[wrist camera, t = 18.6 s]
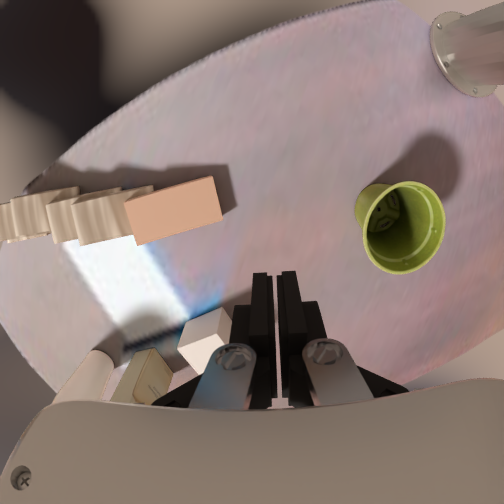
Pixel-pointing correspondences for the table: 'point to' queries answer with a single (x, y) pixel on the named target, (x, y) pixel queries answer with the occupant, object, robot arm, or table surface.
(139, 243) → the domino
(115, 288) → the table surface
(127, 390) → the skincare box
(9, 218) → the domino
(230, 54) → the table surface
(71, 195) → the domino
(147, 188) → the domino
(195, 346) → the white cube
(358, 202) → the plant pot
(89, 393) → the drinking glass
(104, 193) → the domino
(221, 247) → the table surface
